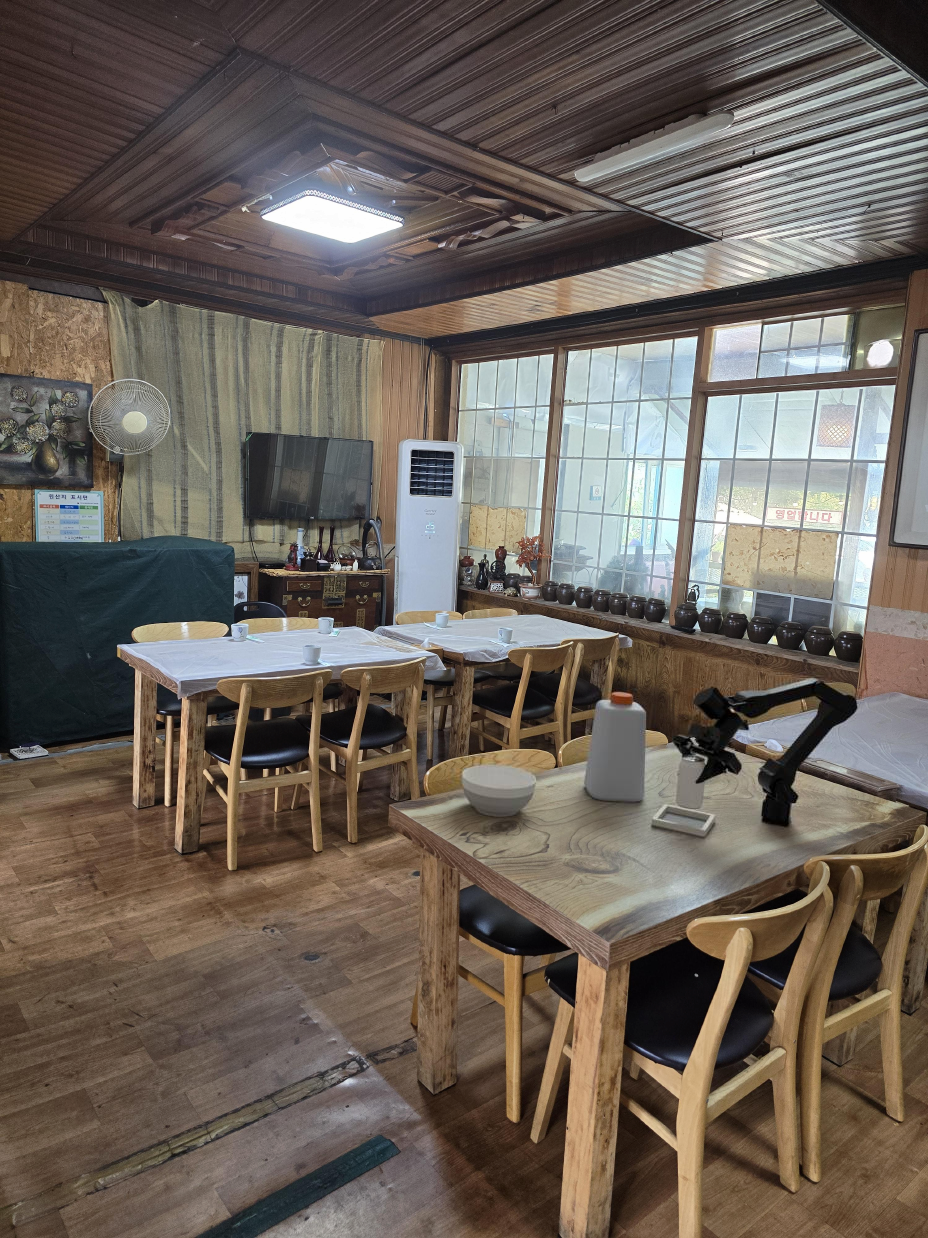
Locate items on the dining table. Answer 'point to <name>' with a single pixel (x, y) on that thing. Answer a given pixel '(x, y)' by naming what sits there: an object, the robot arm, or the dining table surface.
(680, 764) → the can
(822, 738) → the robot arm
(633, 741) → the plastic bottle
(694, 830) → the square tray
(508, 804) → the bowl
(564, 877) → the dining table surface
